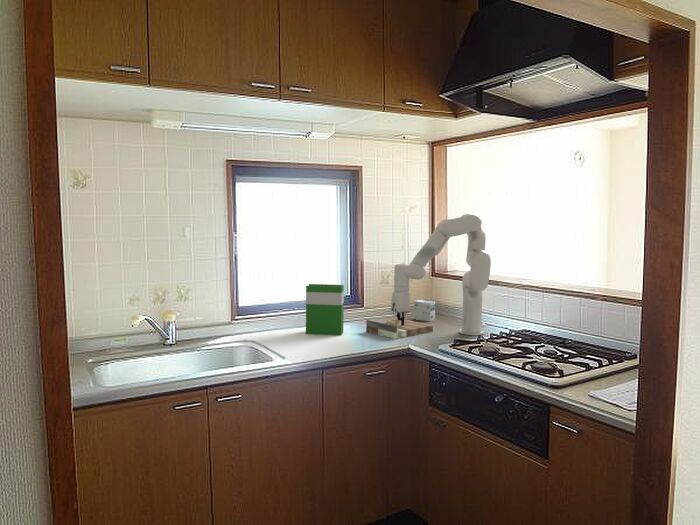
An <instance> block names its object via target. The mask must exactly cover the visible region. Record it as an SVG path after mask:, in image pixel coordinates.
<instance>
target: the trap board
mask: <svg viewBox="0 0 700 525" xmlns="http://www.w3.org/2000/svg"><path fill="white" fill-rule="evenodd" d="M365 321H366V322H365V323H366V326H365V328H366V330H365V332H366V333H368V332H369V333H370V334H374V335H377V334H378V336H381V335H382V336H381V337H385V336H386V337H385V338H389V337H391V338H390V339H393V338H395V339H394V340H397V339H396V338H398V339H402V338H401V337H403V338H407V337H411V335H412V336H416V335H415V334H417V335H421V334H420V333H422V334H426V333H425V332H427V333H431V332H433V331H434V325H433V324H427V323H423V322H419V321H413V320H409V319H406V318H404V326H401V329H397V326H393V325H389V324H387V322H379V321H374V320H370V319H366V320H365ZM430 331H431V332H430ZM406 336H407V337H406Z"/></svg>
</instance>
